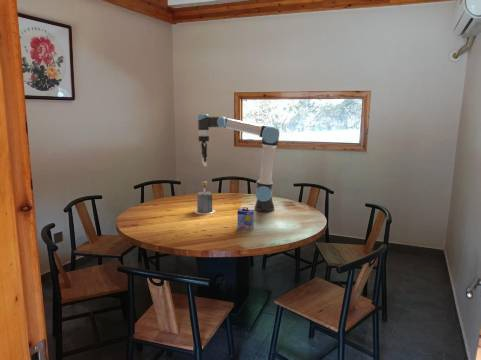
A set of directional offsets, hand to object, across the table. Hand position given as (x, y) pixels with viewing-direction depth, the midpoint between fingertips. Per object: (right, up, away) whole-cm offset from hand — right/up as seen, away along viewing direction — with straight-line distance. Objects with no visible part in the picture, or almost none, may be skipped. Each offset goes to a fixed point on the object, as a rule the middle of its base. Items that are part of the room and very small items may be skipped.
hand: (204, 165), depth 270 cm
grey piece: (-1, -34, +8) cm, 35 cm away
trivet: (0, -35, +7) cm, 36 cm away
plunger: (0, -31, +6) cm, 31 cm away
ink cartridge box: (+30, -43, -31) cm, 60 cm away
